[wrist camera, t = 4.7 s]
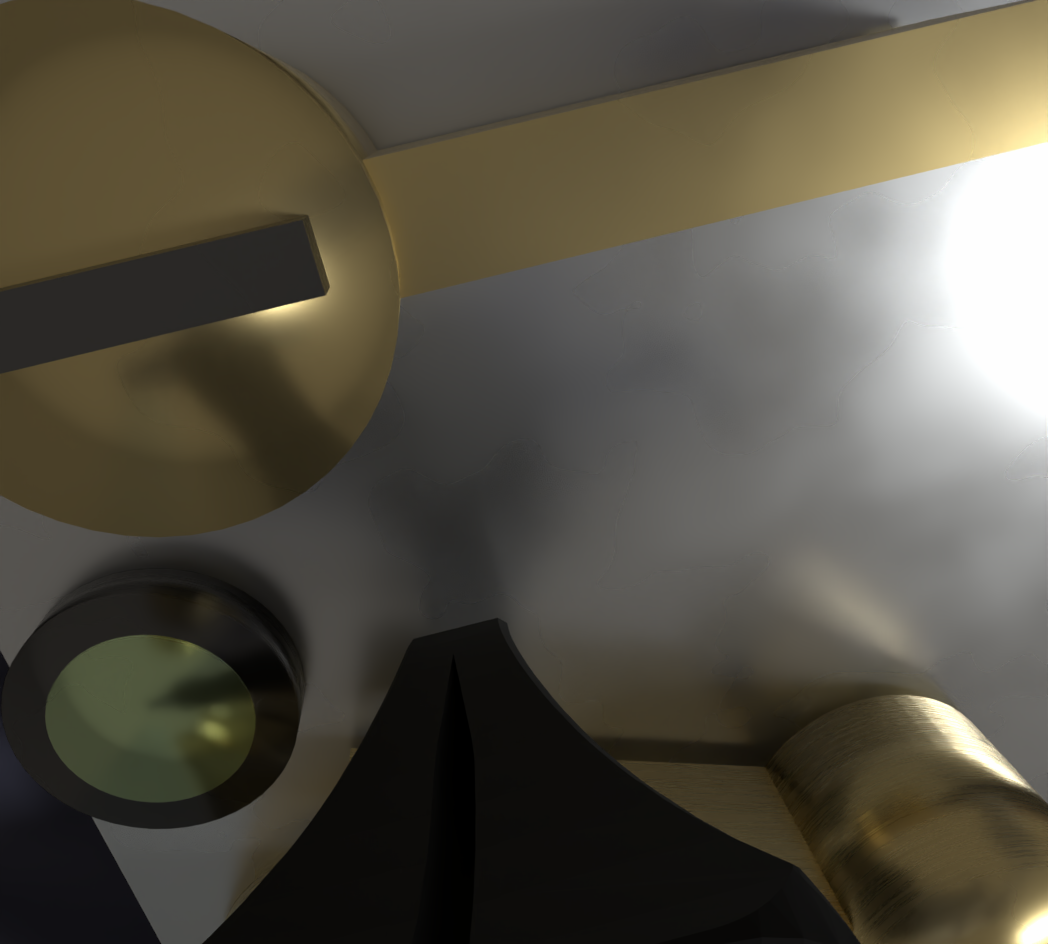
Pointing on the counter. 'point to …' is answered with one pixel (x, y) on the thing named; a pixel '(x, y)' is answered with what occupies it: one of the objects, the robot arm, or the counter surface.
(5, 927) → the counter surface
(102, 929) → the counter surface
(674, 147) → the knob
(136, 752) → the levelling plate
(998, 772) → the knob
